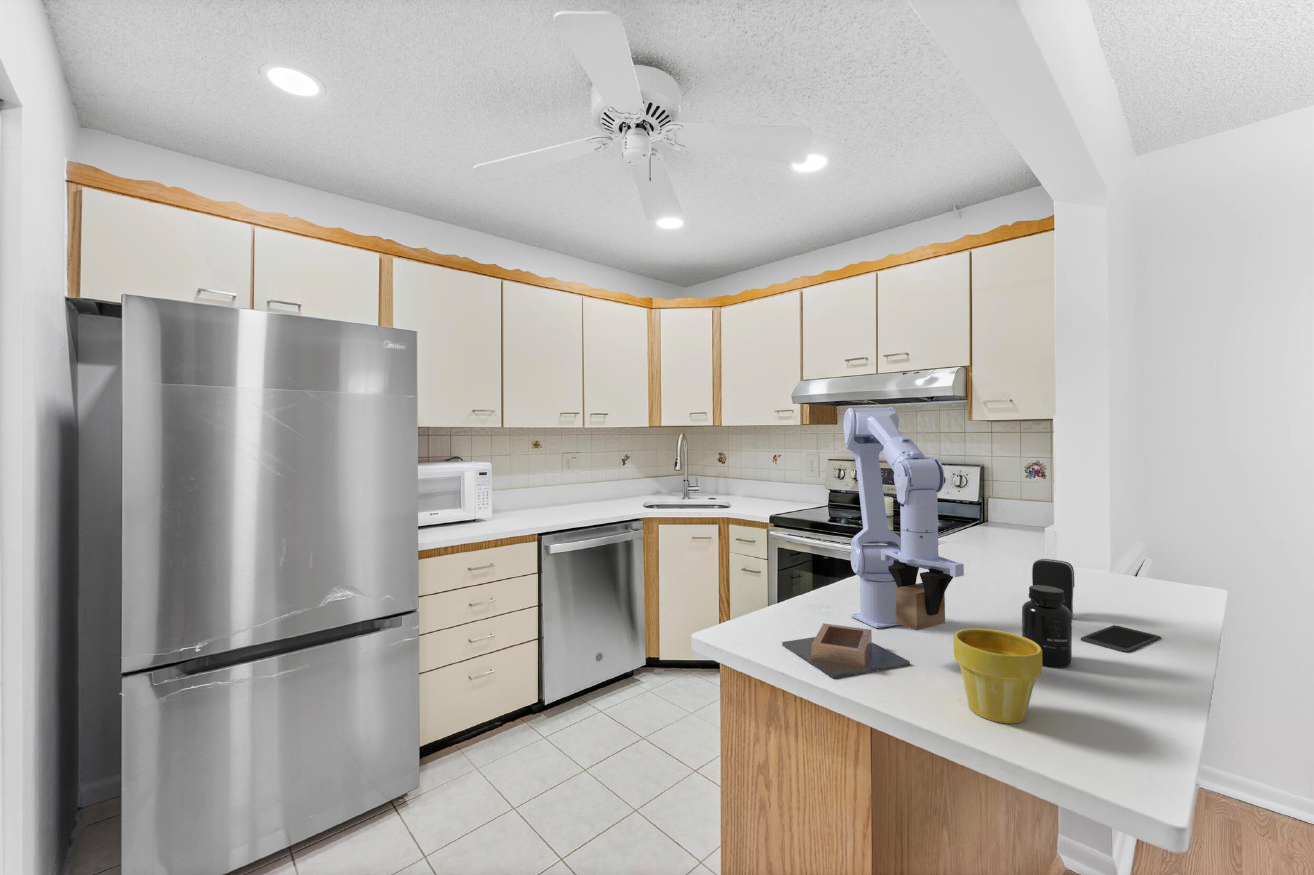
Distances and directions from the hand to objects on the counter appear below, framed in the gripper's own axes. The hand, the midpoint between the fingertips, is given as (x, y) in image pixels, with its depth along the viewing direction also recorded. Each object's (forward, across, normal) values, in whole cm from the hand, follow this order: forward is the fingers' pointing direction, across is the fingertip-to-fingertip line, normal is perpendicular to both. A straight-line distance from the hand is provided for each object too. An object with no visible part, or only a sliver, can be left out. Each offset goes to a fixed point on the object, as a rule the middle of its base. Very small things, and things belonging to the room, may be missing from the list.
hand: (920, 610), depth 93 cm
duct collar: (+8, -8, -10) cm, 15 cm away
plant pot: (+9, +17, -6) cm, 20 cm away
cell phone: (+9, +11, +40) cm, 42 cm away
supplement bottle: (+9, +10, +18) cm, 22 cm away
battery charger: (+9, -2, +44) cm, 45 cm away
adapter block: (+2, 0, 0) cm, 2 cm away
